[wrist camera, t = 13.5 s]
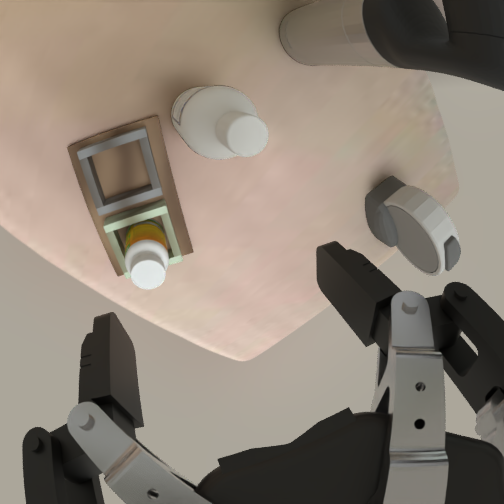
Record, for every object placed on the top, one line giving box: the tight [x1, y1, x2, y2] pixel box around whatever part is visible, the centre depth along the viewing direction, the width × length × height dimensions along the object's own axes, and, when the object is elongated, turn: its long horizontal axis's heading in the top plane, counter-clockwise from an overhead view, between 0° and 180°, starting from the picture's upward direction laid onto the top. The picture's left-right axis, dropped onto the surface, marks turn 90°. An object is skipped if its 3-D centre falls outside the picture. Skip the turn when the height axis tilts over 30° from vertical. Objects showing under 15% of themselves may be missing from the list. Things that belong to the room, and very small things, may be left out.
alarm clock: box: [365, 176, 461, 276], centre depth 46 cm, size 16×10×18 cm, turn 33°
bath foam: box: [171, 85, 268, 160], centre depth 26 cm, size 7×7×20 cm
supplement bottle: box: [125, 219, 169, 289], centre depth 35 cm, size 5×5×10 cm
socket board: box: [67, 116, 193, 279], centre depth 36 cm, size 12×20×4 cm, turn 9°
